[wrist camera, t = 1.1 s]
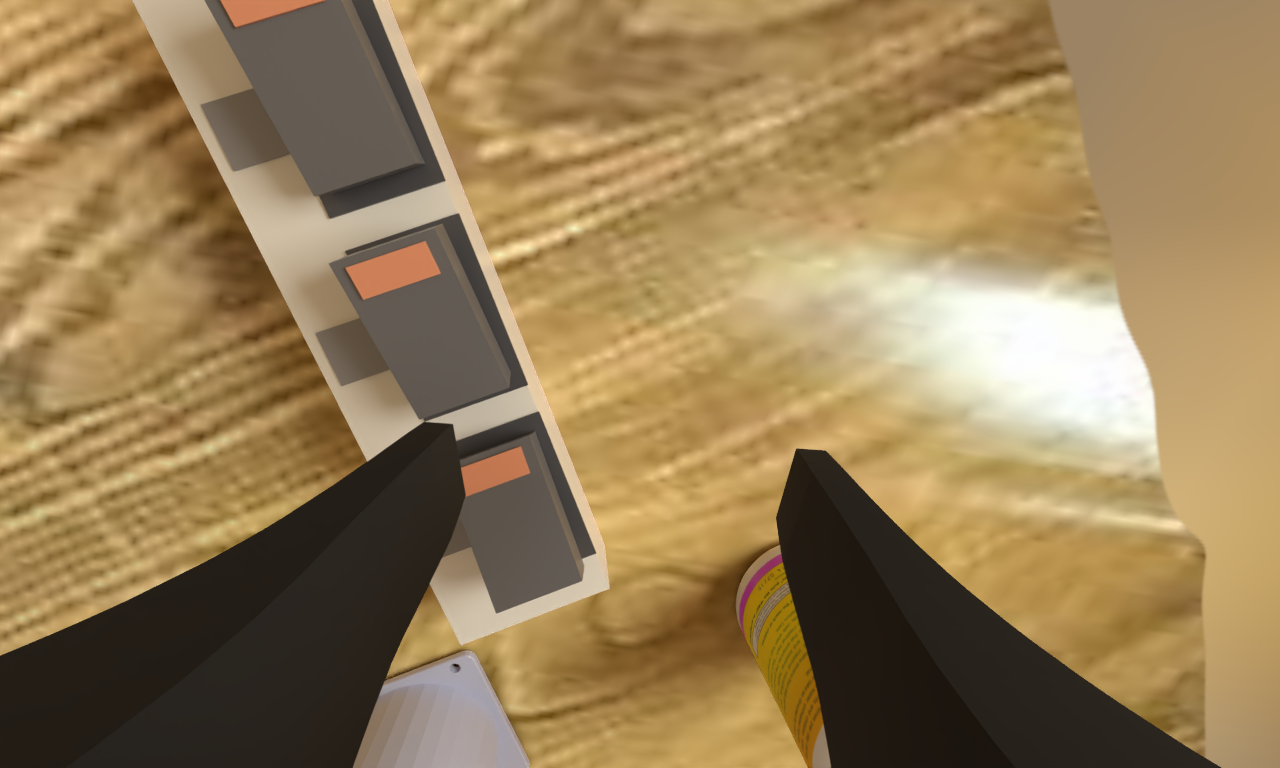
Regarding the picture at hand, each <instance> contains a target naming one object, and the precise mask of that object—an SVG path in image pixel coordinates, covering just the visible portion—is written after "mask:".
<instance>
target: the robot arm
mask: <svg viewBox="0 0 1280 768" xmlns="http://www.w3.org/2000/svg"><path fill="white" fill-rule="evenodd" d="M465 496H466V493H465V487H464V482H463V476H462V471H461V465H460V460H459V454H458V449H457V443H456V438H455V432H454V427H453V424H448V423H434V422H423V423H422V424H420V425H419V426H417V427H415V428H414V429H413V430H411V431H410V432H408V433H407V434H405V435H404V436H403V437H401V438H400V439H398V440H397V441H395V442H394V443H393V444H391V445H390V446H389V447H387V448H386V449H384V450H383V451H382V452H380V453H379V454H377V455H376V456H375V457H373V458H372V459H370V460H369V461H367V462H366V463H365V464H363V465H362V466H360V467H359V468H357V469H356V470H355V471H353V472H352V473H350V474H349V475H347V476H346V477H345V478H343V479H342V480H340V481H339V482H337V483H336V484H334V485H333V486H331V487H330V488H328V489H327V490H325V491H324V492H322V493H321V494H319V495H318V496H316V497H314V498H313V499H311V500H310V501H308V502H307V503H305V504H304V505H302V506H300V507H299V508H297V509H296V510H294V511H293V512H291V513H290V514H288V515H287V516H285V517H283V518H282V519H280V520H279V521H277V522H275V523H274V524H272V525H270V526H269V527H267V528H265V529H264V530H262V531H260V532H258V533H257V534H255V535H253V536H252V537H250V538H248V539H246V540H244V541H243V542H241V543H239V544H237V545H235V546H234V547H232V548H230V549H228V550H226V551H225V552H223V553H221V554H219V555H217V556H216V557H214V558H212V559H210V560H208V561H206V562H204V563H202V564H200V565H199V566H196V567H194V568H192V569H190V570H188V571H186V572H184V573H182V574H180V575H178V576H176V577H174V578H172V579H170V580H168V581H166V582H164V583H162V584H160V585H158V586H156V587H154V588H152V589H150V590H148V591H146V592H144V593H142V594H140V595H138V596H136V597H134V598H132V599H130V600H127V601H125V602H123V603H121V604H119V605H117V606H115V607H112V608H110V609H108V610H106V611H103V612H101V613H99V614H97V615H95V616H92V617H90V618H88V619H86V620H83V621H81V622H79V623H77V624H74V625H72V626H70V627H68V628H65V629H63V630H61V631H58V632H56V633H53V634H51V635H49V636H46V637H44V638H42V639H39V640H37V641H35V642H32V643H30V644H28V645H25V646H23V647H20V648H18V649H16V650H13V651H11V652H8V653H6V654H3V655H1V656H0V768H530V762H529V759H528V757H527V755H526V753H525V751H524V749H523V747H522V745H521V743H520V741H519V739H518V737H517V735H516V733H515V731H514V729H513V727H512V725H511V723H510V721H509V719H508V717H507V715H506V713H505V712H504V710H503V708H502V706H501V704H500V702H499V700H498V698H497V696H496V694H495V692H494V690H493V688H492V686H491V684H490V682H489V680H488V678H487V676H486V674H485V672H484V670H483V668H482V666H481V664H480V662H479V660H478V658H477V656H476V654H475V653H474V652H472V651H468V650H465V651H461V652H459V653H456V654H453V655H451V656H448V657H446V658H443V659H440V660H438V661H435V662H433V663H430V664H427V665H425V666H422V667H419V668H417V669H414V670H412V671H409V672H406V673H404V674H401V675H399V676H396V677H393V678H391V679H388V680H386V681H385V678H386V676H387V673H388V671H389V668H390V665H391V663H392V661H393V658H394V656H395V654H396V652H397V650H398V647H399V645H400V643H401V641H402V638H403V636H404V634H405V632H406V630H407V628H408V626H409V624H410V622H411V620H412V618H413V616H414V614H415V612H416V610H417V608H418V606H419V604H420V602H421V600H422V598H423V596H424V594H425V592H426V590H427V588H428V586H429V584H430V582H431V580H432V578H433V576H434V574H435V571H436V569H437V567H438V565H439V563H440V561H441V559H442V557H443V555H444V553H445V551H446V549H447V547H448V544H449V542H450V540H451V538H452V535H453V532H454V529H455V527H456V524H457V521H458V518H459V515H460V512H461V509H462V506H463V502H464V499H465ZM776 520H777V528H778V535H779V543H780V549H781V555H782V562H783V566H784V570H785V574H786V577H787V581H788V585H789V589H790V592H791V596H792V600H793V603H794V607H795V610H796V614H797V617H798V621H799V625H800V628H801V632H802V635H803V639H804V643H805V646H806V650H807V653H808V657H809V660H810V664H811V668H812V671H813V675H814V680H815V684H816V688H817V692H818V697H819V702H820V708H821V713H822V719H823V724H824V730H825V735H826V741H827V746H828V752H829V758H830V764H831V768H1221V767H1219V766H1218V765H1216V764H1214V763H1212V762H1211V761H1209V760H1208V759H1206V758H1204V757H1203V756H1201V755H1199V754H1198V753H1196V752H1194V751H1193V750H1191V749H1190V748H1188V747H1186V746H1185V745H1183V744H1182V743H1180V742H1178V741H1177V740H1175V739H1174V738H1172V737H1171V736H1169V735H1168V734H1166V733H1165V732H1163V731H1162V730H1160V729H1159V728H1157V727H1155V726H1154V725H1152V724H1151V723H1149V722H1148V721H1146V720H1145V719H1143V718H1142V717H1140V716H1139V715H1137V714H1135V713H1134V712H1132V711H1131V710H1129V709H1128V708H1126V707H1125V706H1123V705H1122V704H1120V703H1119V702H1117V701H1116V700H1114V699H1113V698H1111V697H1110V696H1108V695H1107V694H1105V693H1104V692H1103V691H1101V690H1100V689H1098V688H1097V687H1095V686H1094V685H1092V684H1091V683H1089V682H1088V681H1086V680H1085V679H1084V678H1082V677H1081V676H1079V675H1078V674H1077V673H1075V672H1074V671H1072V670H1071V669H1070V668H1068V667H1067V666H1066V665H1064V664H1063V663H1061V662H1060V661H1059V660H1057V659H1056V658H1054V657H1053V656H1052V655H1050V654H1049V653H1048V652H1046V651H1045V650H1043V649H1042V648H1041V647H1039V646H1038V645H1037V644H1035V643H1034V642H1032V641H1031V640H1030V639H1029V638H1027V637H1026V636H1025V635H1023V634H1022V633H1021V632H1019V631H1018V630H1017V629H1015V628H1014V627H1013V626H1011V625H1010V624H1009V623H1008V622H1006V621H1005V620H1004V619H1003V618H1001V617H1000V616H999V615H998V614H997V613H995V612H994V611H993V610H992V609H990V608H989V607H988V606H987V605H985V604H984V603H983V602H982V601H981V600H979V599H978V598H977V597H976V596H974V595H973V594H972V593H971V592H970V591H968V590H967V589H966V588H965V587H964V586H962V585H961V584H960V583H959V582H958V581H957V580H956V579H954V578H953V577H952V576H951V575H950V574H949V573H948V572H946V571H945V570H944V569H943V568H942V567H941V566H940V565H939V564H938V563H937V562H936V561H934V560H933V559H932V558H931V557H930V556H929V555H928V554H927V553H926V552H925V551H924V550H922V549H921V548H920V547H919V546H918V545H917V544H916V543H915V542H914V541H913V540H912V539H911V538H910V537H909V536H908V535H907V534H906V533H905V532H904V531H903V530H902V529H901V528H900V527H899V526H898V525H897V524H896V523H895V522H894V521H893V520H892V519H891V518H890V517H889V516H888V515H887V514H886V513H885V512H884V511H883V510H882V509H881V508H880V507H879V506H878V505H877V504H876V503H875V502H874V501H873V500H872V499H871V498H870V497H869V496H868V495H867V494H866V493H865V491H864V490H863V489H862V488H861V487H860V486H859V485H858V484H857V483H856V482H855V481H854V480H853V479H852V478H851V477H850V476H849V474H848V473H847V472H846V471H845V470H844V469H843V468H842V467H841V466H840V465H839V464H838V463H837V462H836V461H835V460H834V459H833V458H832V457H831V456H830V455H829V454H828V453H827V452H826V451H823V450H809V449H796V451H795V455H794V458H793V462H792V465H791V469H790V472H789V475H788V479H787V482H786V486H785V489H784V493H783V496H782V499H781V503H780V506H779V510H778V513H777V517H776ZM452 664H459V665H460V666H459V667H455V666H453V665H452Z"/></svg>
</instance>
